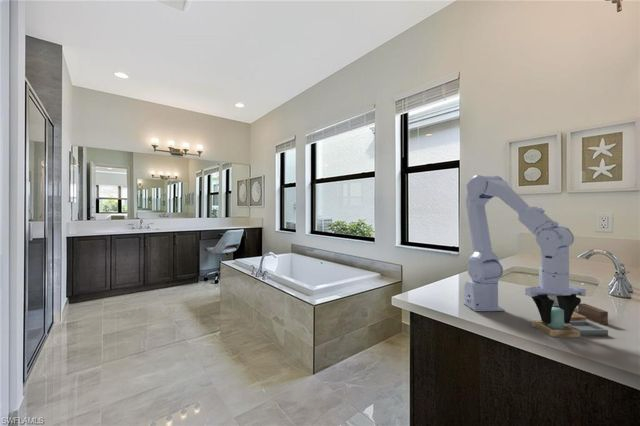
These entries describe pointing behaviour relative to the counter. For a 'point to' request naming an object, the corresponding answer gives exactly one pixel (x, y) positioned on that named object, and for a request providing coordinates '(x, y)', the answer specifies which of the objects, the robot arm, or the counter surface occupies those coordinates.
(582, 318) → the tan cardboard block
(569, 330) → the socket block
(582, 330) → the tray
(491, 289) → the robot arm
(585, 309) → the stop block
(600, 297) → the counter surface
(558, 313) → the teal capsule
